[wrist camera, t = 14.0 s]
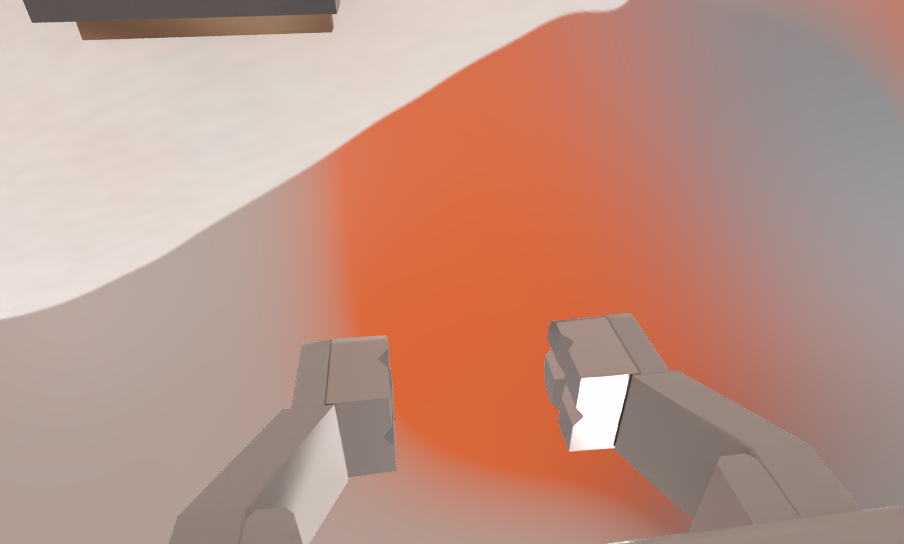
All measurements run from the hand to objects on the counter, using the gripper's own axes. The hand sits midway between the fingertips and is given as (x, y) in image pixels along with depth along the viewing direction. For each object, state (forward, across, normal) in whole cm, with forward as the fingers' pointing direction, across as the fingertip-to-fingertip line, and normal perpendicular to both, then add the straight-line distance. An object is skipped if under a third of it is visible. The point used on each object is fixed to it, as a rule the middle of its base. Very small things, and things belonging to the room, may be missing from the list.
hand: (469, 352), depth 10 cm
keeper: (+29, +11, -8) cm, 32 cm away
